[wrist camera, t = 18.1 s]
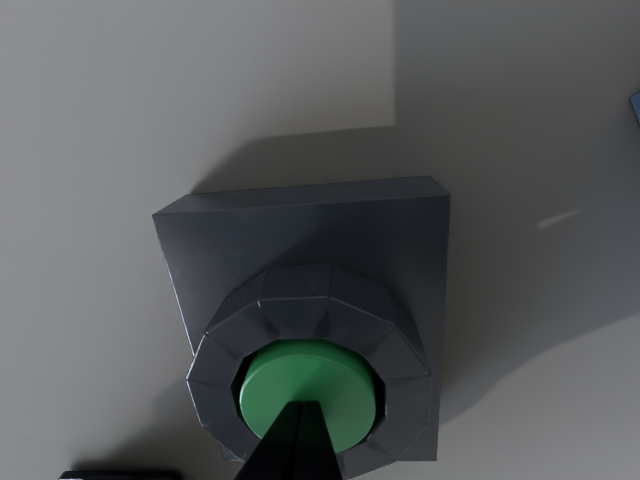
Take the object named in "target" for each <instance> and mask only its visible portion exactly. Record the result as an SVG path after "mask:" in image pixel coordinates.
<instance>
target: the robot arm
mask: <svg viewBox="0 0 640 480" xmlns="http://www.w3.org/2000/svg"><path fill="white" fill-rule="evenodd" d="M58 480H183V479H182V477H181V476H180V475H179V474H177V473H174V472H140V471H65V472H63V473H62V475H61V476H60V477H59V479H58ZM234 480H343V478H342V475H341V471H340V468H339V465H338V461H337V458H336V455H335V451H334V448H333V445H332V441H331V438H330V435H329V431H328V428H327V425H326V421H325V418H324V415H323V411H322V408H321V405H320V402H319V401H317V400H308V401H304V403H303V401H288V402H287V403H286V404H285V406H284V407H283V409H282V410H281V412H280V413H279V414H278V416H277V417H276V419H275V420H274V422H273V423H272V425H271V426H270V427H269V429H268V430H267V432H266V433H265V435H264V436H263V438H262V439H261V441H260V442H259V443H258V445H257V446H256V448H255V449H254V451H253V452H252V454H251V455H250V456H249V458H248V459H247V461H246V462H245V464H244V465H243V467H242V468H241V470H240V471H239V472H238V474H237V475H236V477H235V478H234Z"/></svg>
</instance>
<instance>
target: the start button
mask: <svg viewBox="0 0 640 480" xmlns="http://www.w3.org/2000/svg"><path fill="white" fill-rule="evenodd" d="M308 400H317V401H319V402H320V405H321V408H322V411H323V415H324V418H325V421H326V425H327V428H328V431H329V435H330V438H331V441H332V445H333V448H334V451H335V453H338V452H341V451H344V450H346V449H348V448H351V447H352V446H354V445H355V444H357V443H358V442H359V441H361V440H362V439H363V438H364V437H365V436H366V434H367V433H368V432H369V430H370V429H371V426H372V424H373V422H374V419H375V414H376V404H375V393H374V383H373V373H372V367H371V366H370V365H369V363H368V362H367V361H366V360H365V358H364V357H363V356H362V355H360V354H358V353H355V352H353V351H351V350H348V349H346V348H343V347H341V346H339V345H336V344H334V343H331V342H329V341H327V340H324V339H322V338H319V339H288V340H275V341H273V342H271V343H269V344H268V345H266V346H264V347H262V348H261V349H259V350H257V351H255V352H254V355H253V358H252V361H251V363H250V366H249V369H248V372H247V374H246V377H245V380H244V383H243V386H242V388H241V393H240V407H241V412H242V415H243V417H244V419H245V421H246V423H247V425H248V426H249V427H250V429H251V430H252V431H253V432H254V433H255V434H256V435H257V436H258V437H259V438H260V439H262V438H263V436H264V435H265V433H266V432H267V430H268V429H269V427H270V426H271V425H272V423H273V422H274V420H275V419H276V417H277V416H278V414H279V413H280V412H281V410H282V409H283V407H284V406H285V404H286V403H287V402H288V401H303V403H304V401H308Z"/></svg>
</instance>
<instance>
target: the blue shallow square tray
mask: <svg viewBox="0 0 640 480" xmlns="http://www.w3.org/2000/svg"><path fill="white" fill-rule="evenodd" d="M631 101H632V104H633V107H634V110H635V112H636V115H637V118H638V120H639V123H640V92H638V93H637V94H635V95H633V96H632V97H631Z"/></svg>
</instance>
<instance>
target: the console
mask: <svg viewBox="0 0 640 480" xmlns="http://www.w3.org/2000/svg"><path fill="white" fill-rule="evenodd" d="M450 197H451V194H450V193H449V192H448V191H447V190H446V189H445V188H444V187H443V186H442V185H440V184H439V183H438V182H437V181H436V180H435V179H434V178H432V177H431V176H417V177H404V178H392V179H379V180H366V181H353V182H341V183H328V184H315V185H302V186H289V187H277V188H264V189H251V190H238V191H226V192H213V193H200V194H187V195H185V196H183V197H182V198H180V199H178V200H177V201H175V202H173V203H171V204H170V205H168V206H166V207H165V208H163V209H161V210H160V211H158V212H156V213H155V214H153V215H152V217H153V221H154V224H155V228H156V231H157V234H158V238H159V241H160V244H161V248H162V251H163V254H164V258H165V261H166V265H167V268H168V271H169V275H170V278H171V281H172V285H173V288H174V292H175V295H176V298H177V302H178V305H179V308H180V312H181V315H182V318H183V322H184V325H185V329H186V332H187V335H188V339H189V342H190V345H191V349H192V352H193V355H194V358H193V361H192V363H191V366H190V368H189V371H188V373H187V376H186V378H187V384H188V387H189V390H190V393H191V397H192V400H193V403H194V406H195V409H196V412H197V415H198V419H199V422H200V424H202V427H203V428H204V429H205V430H207V431H208V432H209V433H210V434H211V435H212V436H213V437H214V438H215V439H216V440H218V441H219V443H220V446H221V450H222V453H223V457H224V460H240V461H241V462H244V463H245V462H246V461H247V459H248V458H249V456H250V455H251V454H252V452H253V451H254V449H255V448H256V446H257V445H258V443H259V442H260V441H261V439H260V438H259V437H258V436H257V435H256V434H255V433H254V432H253V431H252V430H251V429H250V427H249V426H248V425H247V423H246V421H245V419H244V417H243V415H242V412H241V407H240V393H241V388H242V386H243V383H244V380H245V377H246V374H247V372H248V369H249V366H250V363H251V361H252V358H253V355H254V352H255V351H257V350H259V349H261V348H262V347H264V346H266V345H268V344H269V343H271V342H273V341H275V340H288V339H319V338H322V339H324V340H327V341H329V342H331V343H334V344H336V345H339V346H341V347H343V348H346V349H348V350H351V351H353V352H355V353H358V354H360V355H362V356H363V357H364V358H365V360H366V361H367V362H368V363H369V365H370V366H371V367H372V373H373V383H374V393H375V404H376V414H375V419H374V422H373V424H372V426H371V429H370V430H369V432H368V433H367V434H366V436H365V437H364V438H363V439H362V440H361V441H359V442H358V443H357V444H355V445H354V446H352V447H351V448H348V449H346V450H344V451H341V452H338V453H335V455H336V458H337V461H338V465H339V468H340V471H341V475H342V478H343V480H347V479H352V478H354V477H357V476H360V475H362V474H365V473H368V472H370V471H373V470H375V469H378V468H381V467H383V466H386V465H389V464H391V463H394V462H396V461H437V445H438V426H439V407H440V388H441V369H442V350H443V331H444V311H445V292H446V273H447V254H448V235H449V216H450Z"/></svg>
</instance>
